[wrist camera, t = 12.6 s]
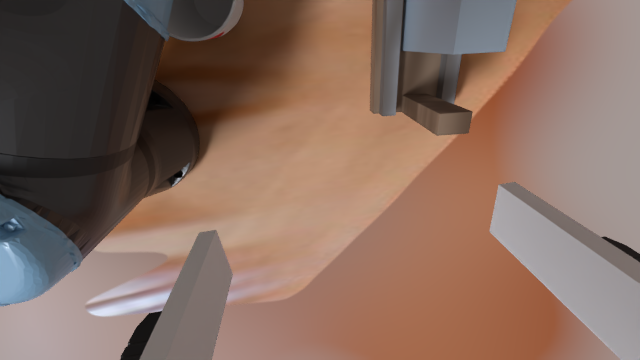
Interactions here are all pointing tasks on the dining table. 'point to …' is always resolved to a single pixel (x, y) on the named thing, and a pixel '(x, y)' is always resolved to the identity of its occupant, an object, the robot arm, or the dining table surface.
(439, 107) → the grey u-shaped frame
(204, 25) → the cup
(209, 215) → the dining table surface
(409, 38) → the grey square slab
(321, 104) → the dining table surface
